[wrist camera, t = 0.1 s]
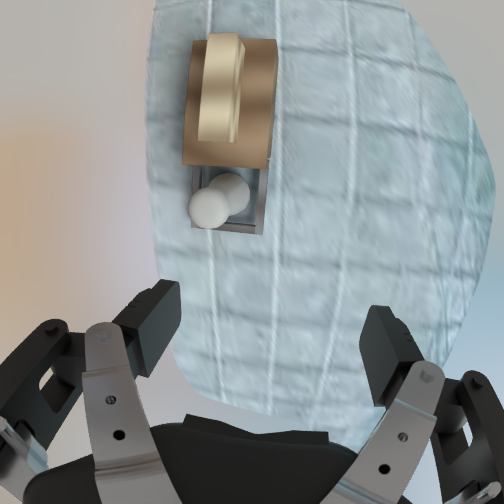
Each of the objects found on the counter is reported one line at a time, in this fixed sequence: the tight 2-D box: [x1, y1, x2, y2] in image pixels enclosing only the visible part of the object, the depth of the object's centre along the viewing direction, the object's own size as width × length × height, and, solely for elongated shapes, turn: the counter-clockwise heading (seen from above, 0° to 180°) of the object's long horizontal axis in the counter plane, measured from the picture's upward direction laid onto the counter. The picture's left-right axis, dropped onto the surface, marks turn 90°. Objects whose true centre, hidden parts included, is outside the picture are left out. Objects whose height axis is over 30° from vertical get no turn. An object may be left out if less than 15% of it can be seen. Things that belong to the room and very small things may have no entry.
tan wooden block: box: [182, 33, 277, 235], centre depth 29 cm, size 25×10×10 cm, turn 176°
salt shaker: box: [188, 172, 250, 229], centre depth 33 cm, size 6×6×13 cm
